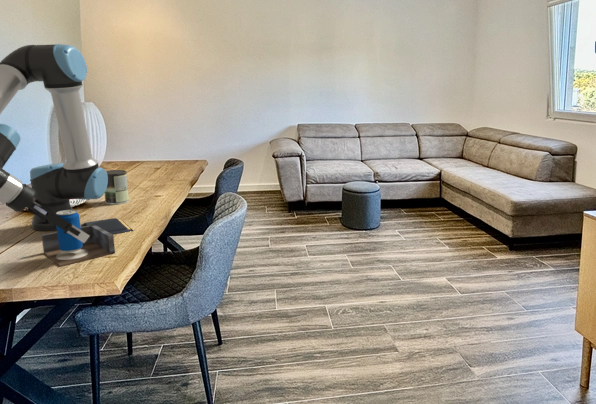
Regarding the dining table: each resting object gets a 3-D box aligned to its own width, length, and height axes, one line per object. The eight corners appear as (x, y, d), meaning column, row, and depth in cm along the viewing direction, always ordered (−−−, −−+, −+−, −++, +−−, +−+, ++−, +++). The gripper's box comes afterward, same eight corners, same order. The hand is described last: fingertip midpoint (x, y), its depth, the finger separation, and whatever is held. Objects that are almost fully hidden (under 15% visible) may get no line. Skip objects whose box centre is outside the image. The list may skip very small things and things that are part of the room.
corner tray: (43, 252, 140) (41, 234, 139) (96, 241, 151) (93, 224, 150) (60, 266, 129) (57, 247, 128) (115, 253, 140) (113, 234, 139)
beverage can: (84, 245, 141) (80, 208, 138) (81, 252, 135) (76, 213, 132) (62, 247, 139) (57, 210, 136) (57, 254, 133) (52, 215, 130)
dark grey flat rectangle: (80, 221, 170) (122, 215, 178) (80, 226, 171) (122, 220, 178) (88, 235, 154) (133, 228, 162) (88, 240, 154) (134, 233, 162)
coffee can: (104, 205, 199) (100, 174, 195) (106, 200, 208) (103, 170, 205) (128, 203, 202) (125, 173, 198) (129, 198, 211) (127, 169, 208)
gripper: (-4, 198, 129) (64, 239, 144) (13, 210, 116) (85, 254, 131) (14, 178, 132) (79, 220, 146) (33, 187, 118) (102, 233, 133)
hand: (82, 236), depth 139 cm, fingers closed on beverage can, 6 cm apart
